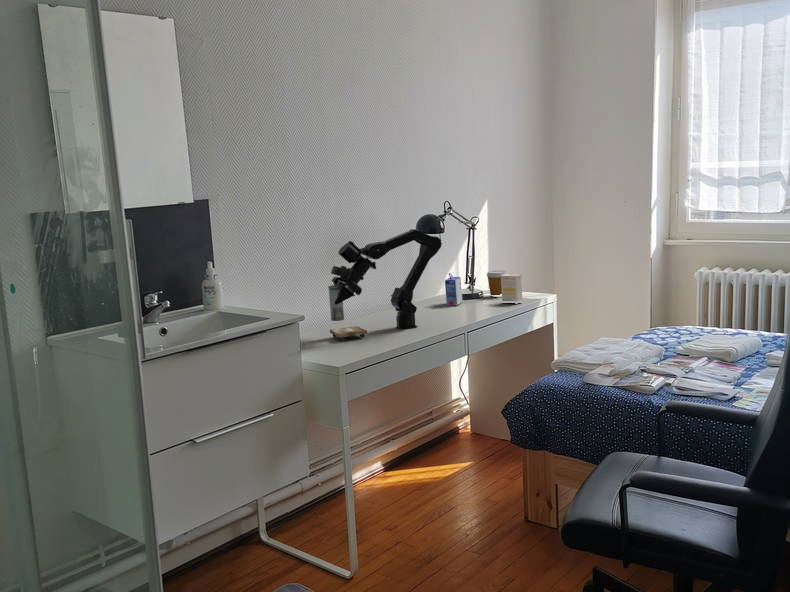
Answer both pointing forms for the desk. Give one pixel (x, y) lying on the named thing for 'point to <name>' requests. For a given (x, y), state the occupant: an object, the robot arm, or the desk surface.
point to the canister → (335, 310)
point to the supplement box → (511, 287)
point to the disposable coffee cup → (495, 281)
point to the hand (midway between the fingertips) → (332, 303)
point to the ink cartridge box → (453, 290)
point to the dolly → (348, 332)
